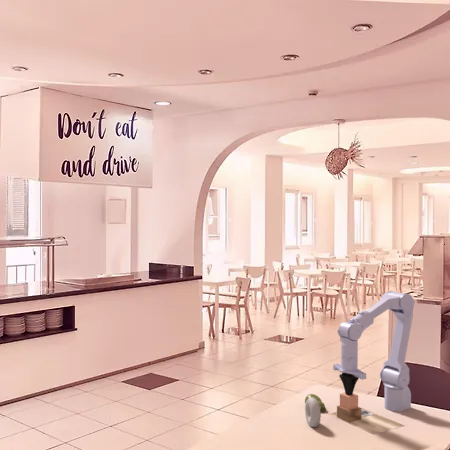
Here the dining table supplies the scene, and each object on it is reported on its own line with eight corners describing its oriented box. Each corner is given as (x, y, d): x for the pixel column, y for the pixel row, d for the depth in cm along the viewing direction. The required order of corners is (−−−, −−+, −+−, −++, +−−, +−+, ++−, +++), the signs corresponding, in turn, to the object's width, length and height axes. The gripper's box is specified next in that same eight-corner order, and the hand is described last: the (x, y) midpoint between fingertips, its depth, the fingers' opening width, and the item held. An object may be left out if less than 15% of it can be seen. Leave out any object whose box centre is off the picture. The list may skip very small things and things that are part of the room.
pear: (315, 390, 213) (330, 403, 204) (313, 403, 214) (328, 416, 205) (302, 392, 211) (317, 405, 202) (301, 405, 212) (316, 418, 203)
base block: (349, 414, 202) (349, 403, 202) (361, 419, 196) (361, 407, 196) (336, 417, 199) (336, 406, 198) (348, 422, 193) (348, 411, 193)
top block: (349, 404, 201) (349, 391, 200) (358, 407, 197) (358, 395, 197) (339, 406, 198) (339, 393, 198) (348, 410, 194) (348, 397, 194)
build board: (358, 408, 209) (358, 406, 209) (404, 427, 191) (404, 425, 191) (328, 416, 202) (328, 413, 202) (373, 436, 183) (373, 433, 183)
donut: (321, 432, 187) (322, 402, 187) (312, 432, 186) (312, 403, 186) (313, 421, 197) (313, 393, 197) (303, 421, 196) (303, 393, 196)
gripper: (327, 353, 201) (326, 390, 202) (355, 362, 189) (355, 402, 189) (341, 351, 205) (341, 387, 205) (370, 359, 193) (370, 398, 193)
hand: (349, 394), depth 197 cm, fingers closed, pressing on top block
